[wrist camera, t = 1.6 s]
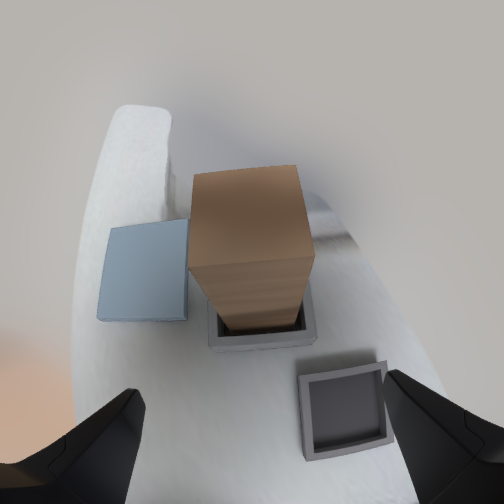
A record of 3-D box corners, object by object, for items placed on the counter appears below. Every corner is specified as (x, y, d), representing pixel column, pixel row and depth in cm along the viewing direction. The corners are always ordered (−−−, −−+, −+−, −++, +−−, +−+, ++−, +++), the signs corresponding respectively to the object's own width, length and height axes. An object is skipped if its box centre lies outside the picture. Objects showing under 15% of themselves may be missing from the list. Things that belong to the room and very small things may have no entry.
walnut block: (292, 329, 23) (315, 255, 11) (232, 334, 23) (187, 267, 11) (286, 275, 25) (295, 164, 13) (230, 280, 25) (194, 174, 13)
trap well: (384, 438, 17) (394, 442, 15) (303, 455, 17) (306, 461, 16) (377, 363, 21) (386, 360, 19) (297, 376, 21) (299, 375, 19)
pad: (186, 320, 24) (183, 317, 23) (101, 321, 24) (96, 318, 23) (190, 224, 28) (187, 218, 27) (115, 233, 29) (111, 228, 28)
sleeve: (311, 344, 22) (317, 337, 19) (216, 352, 22) (208, 346, 20) (300, 259, 26) (302, 242, 23) (214, 266, 26) (207, 251, 23)
